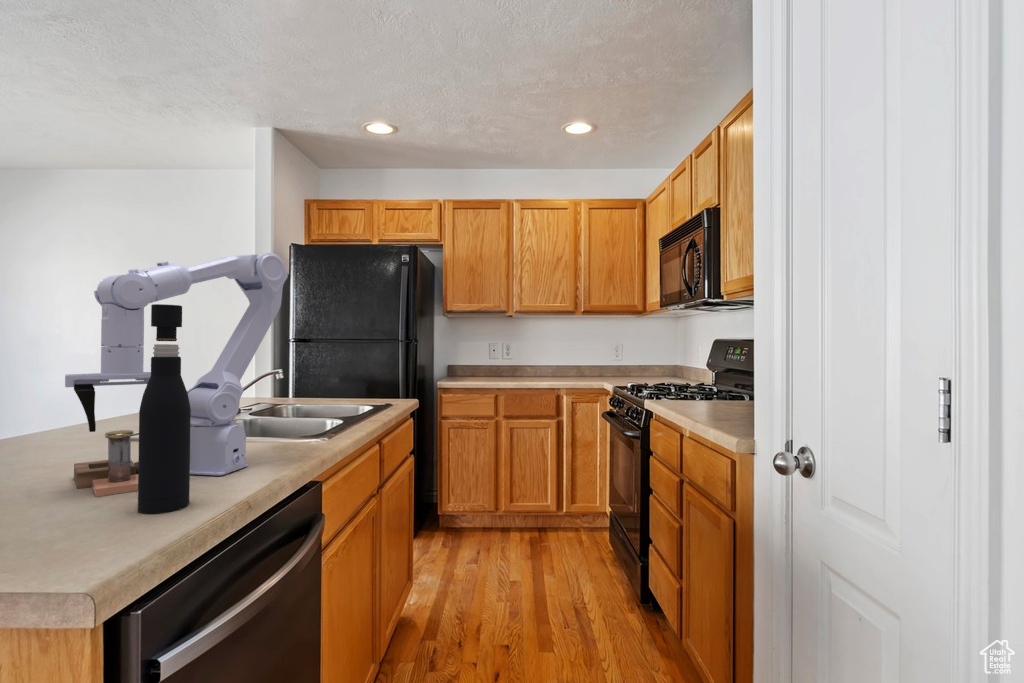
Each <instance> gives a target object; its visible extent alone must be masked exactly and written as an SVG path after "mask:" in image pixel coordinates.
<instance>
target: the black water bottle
mask: <svg viewBox="0 0 1024 683" xmlns="http://www.w3.org/2000/svg"><path fill="white" fill-rule="evenodd" d="M150 306H151V309H150V311H151V312H150V314H151V315H150V316H151V317H150V327H153V328H155V327H156V336H155V337H156V338H155V340H156V342H177V340H178V338H177V336H178V335H177V333H178V332H177V329H178V328H183V306H182V305H179V304H163V303H162V304H159V303H158V304H156V303H155V304H152V303H151V305H150ZM153 346H154V347H152V350H153V351H152V354H153V356H151V357H150V372H151V376H150V379H149V381H148V383H147V384H146V387H145V389H144V391H143V394H142V398H141V402H140V406H139V411H138V462H139V463H138V491H137V493H138V494H137V512H139V513H141V514H147V515H149V514H150V515H152V514H153V515H155V514H164V513H171V512H174V511H175V512H176V511H179V510H181V509H184V508H187V507H188V506H189V505H190V486H191V485H190V476H191V474H190V421H191V408H190V403H189V398H188V393H187V391H188V390H187V388H186V386H185V383H184V380H183V378H182V357H181V356H179V354H180V352H179V350H180V347H179V344H158V343H156V344H154V345H153Z"/></svg>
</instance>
